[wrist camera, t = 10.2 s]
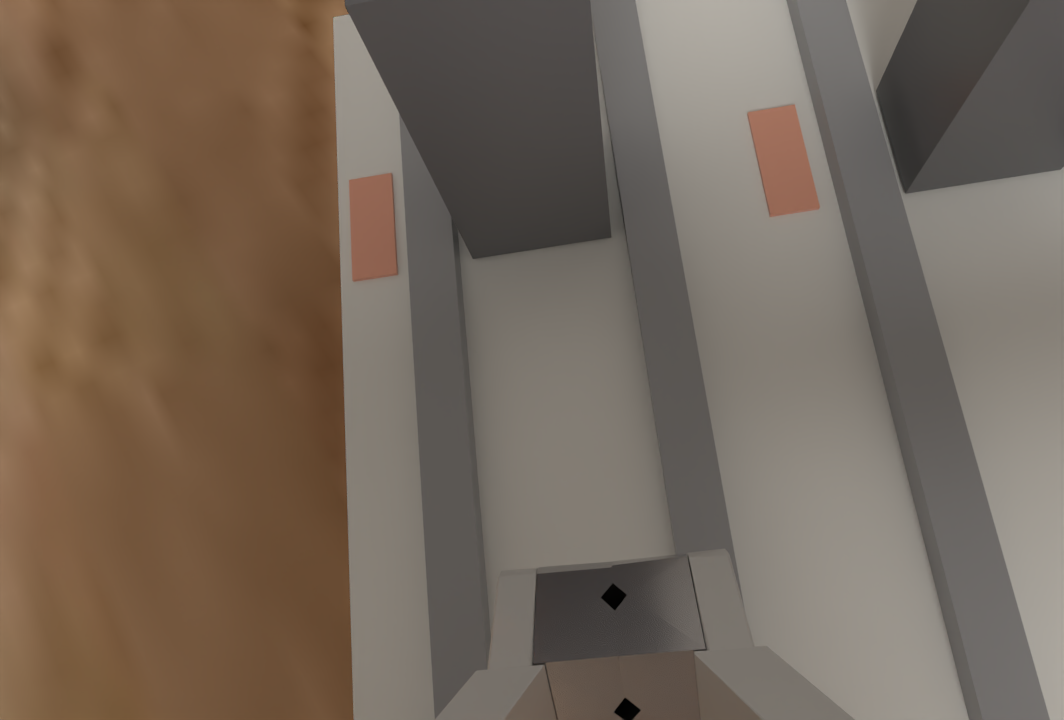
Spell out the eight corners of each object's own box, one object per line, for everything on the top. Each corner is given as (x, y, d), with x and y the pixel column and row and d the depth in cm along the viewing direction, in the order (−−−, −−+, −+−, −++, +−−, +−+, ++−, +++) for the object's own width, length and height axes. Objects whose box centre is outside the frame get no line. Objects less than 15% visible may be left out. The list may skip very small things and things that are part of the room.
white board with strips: (1366, 727, 14) (1523, 756, 11) (391, 809, 16) (345, 848, 13) (1053, -59, 19) (1112, -155, 17) (361, 69, 21) (323, -1, 19)
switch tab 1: (611, 237, 16) (586, -41, 9) (473, 259, 17) (345, 5, 10) (596, 136, 17) (562, -193, 10) (464, 158, 17) (339, -146, 10)
